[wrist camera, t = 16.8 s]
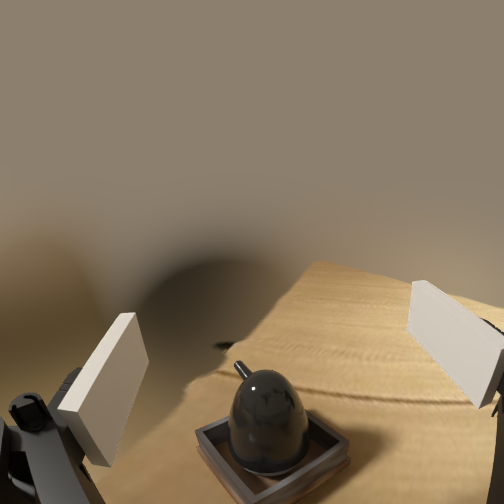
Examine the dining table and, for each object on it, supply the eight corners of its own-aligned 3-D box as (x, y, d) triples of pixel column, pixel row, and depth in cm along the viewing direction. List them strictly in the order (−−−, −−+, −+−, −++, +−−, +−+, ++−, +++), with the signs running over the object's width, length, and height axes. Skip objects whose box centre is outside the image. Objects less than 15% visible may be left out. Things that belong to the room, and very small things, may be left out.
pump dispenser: (275, 420, 41) (269, 338, 37) (325, 457, 33) (334, 374, 29) (217, 452, 36) (196, 370, 31) (263, 500, 27) (252, 424, 23)
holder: (281, 412, 45) (280, 387, 43) (349, 463, 32) (354, 440, 31) (198, 452, 37) (190, 429, 36) (255, 525, 25) (251, 508, 23)
